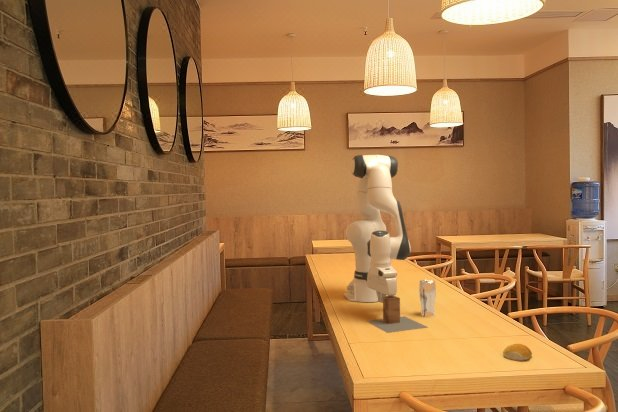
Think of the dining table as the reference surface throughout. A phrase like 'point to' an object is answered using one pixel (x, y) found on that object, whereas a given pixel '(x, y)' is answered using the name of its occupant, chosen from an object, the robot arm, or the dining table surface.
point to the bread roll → (517, 352)
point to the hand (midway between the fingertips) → (381, 302)
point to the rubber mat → (397, 325)
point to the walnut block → (391, 309)
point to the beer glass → (427, 297)
